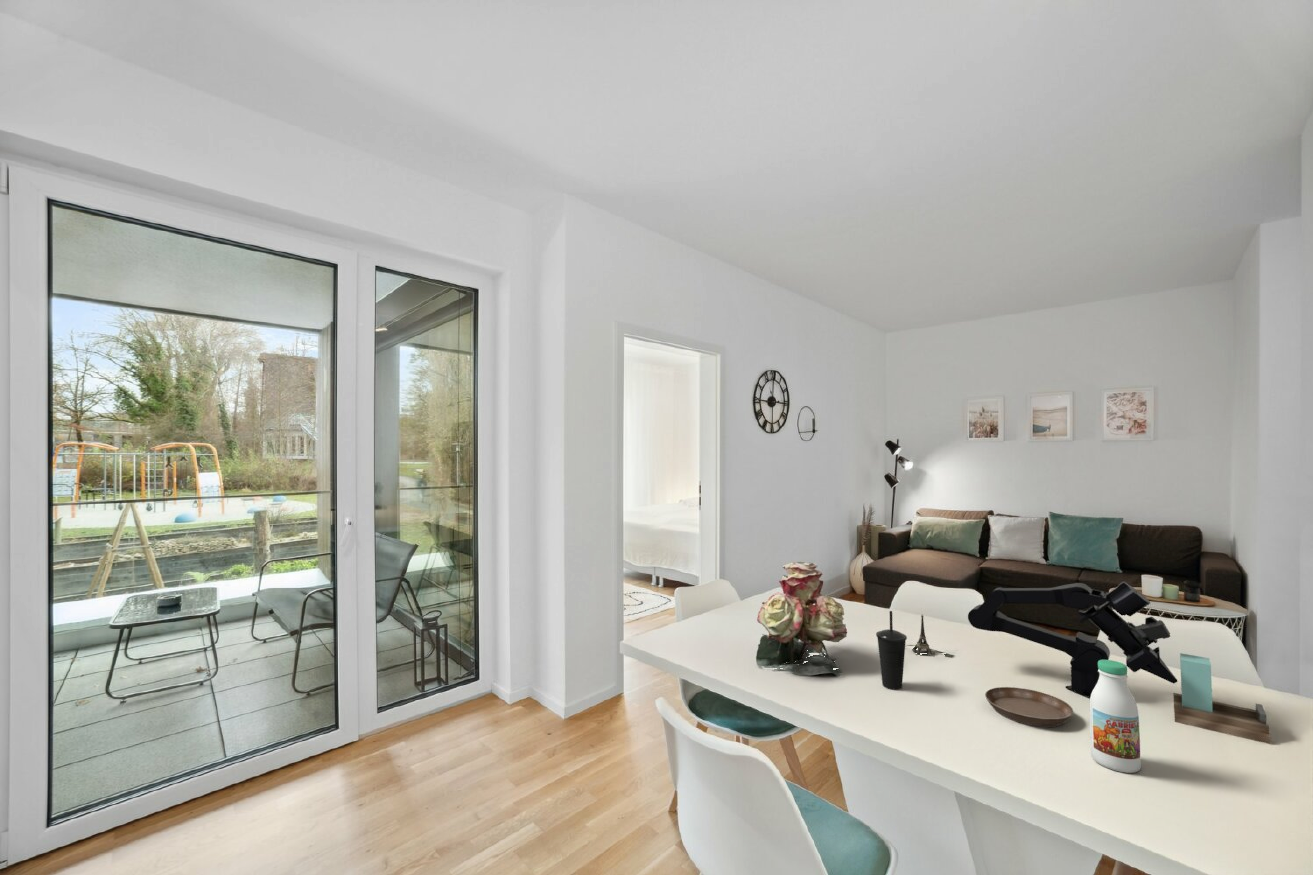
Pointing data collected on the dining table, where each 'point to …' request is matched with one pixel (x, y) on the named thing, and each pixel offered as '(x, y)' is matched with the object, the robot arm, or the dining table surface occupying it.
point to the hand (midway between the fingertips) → (1175, 682)
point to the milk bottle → (1114, 720)
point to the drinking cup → (891, 656)
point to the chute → (1225, 719)
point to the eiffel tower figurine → (925, 644)
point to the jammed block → (1196, 682)
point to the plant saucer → (1029, 706)
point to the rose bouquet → (800, 623)
